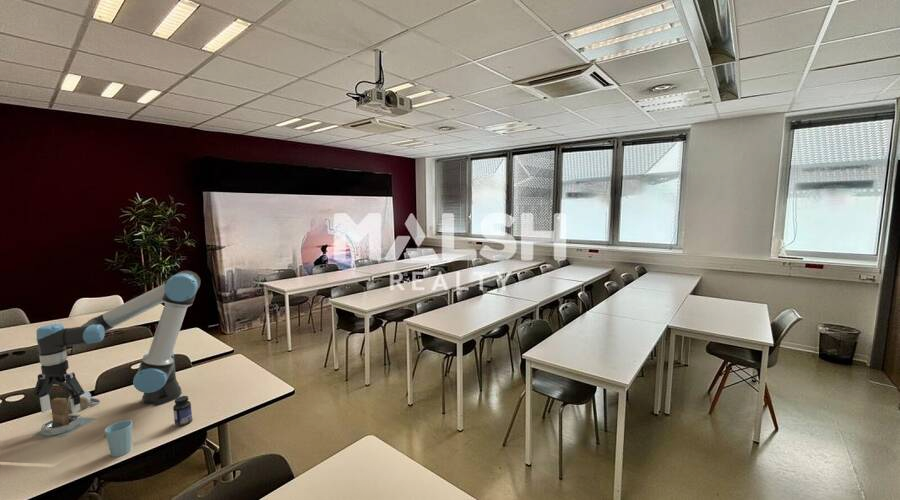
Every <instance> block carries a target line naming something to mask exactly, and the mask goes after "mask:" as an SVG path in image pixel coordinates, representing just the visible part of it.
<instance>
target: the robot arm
mask: <svg viewBox="0 0 900 500" xmlns="http://www.w3.org/2000/svg"><path fill="white" fill-rule="evenodd" d="M201 281H202V280H201V278H200V276H199V275H198V274H197V273H196V272H194V271H191V270H181V271H179V272H177V273H175V274H174V275H172V276H170V277H169V278H168V279H166V280H164V281H163V282H162V284H161V285H158V286H157V287H155V288H153V289H151V290H149V291H146V292H145V293H142V294H140V295H139V296H136V297H134V298H133V299H132V298H131V299H130V300H128V301H126V302H125V303H122V304H120V305H118V306H115V307H114V308H111V309H110V310H108V311H106V312H104V313H102V314H100V315H98V316H95V317H92V318H90V319H88V321H87V322H85V323H83V324H82V325H81V326H75V327H64V325H63V324H62V323H52V324H48V325H43V326H40V327H38V328H37V329H36V331H35V332H36V342H37V348H38V357H39V364H40V371H41V373H39V374H37V381H36V384H35V387H34V390H33V393H32V395H33V397H37V398H38V400H39V404H40V409H41V414H45V413H46V412H48V411H50V410H51V411H52V409H51V401H50V400H51V399H50V394H49V391H50V390H51V388H52V387H53V386H54V385H55V386H59V387H60V388H61V387H62V389H64V391H65V392H66V393H67V394H68V395H69V396H71V398H70V403H71V410H72V412H71V414H75V413H77V412H80V411H82V410H81V408H80V395H82V394H84V393H85V392H84V390H85V389H83V387H82V385H81V383H79V381H78V379H77V377H76V373H75V372H70V373H68V372H67V371H68V369H69V368H70V367H69V360H68V354H67V348H68V347H72V346H73V347H74V346H81V345H91V344H95V343H100V342H102V341H103V340H104V338H105V335H106V332H108V331H109V330H112V329H113V328H116V327H117V326H119V325H121V324H123V323H125V322H127V321H129V320H131V319H133V318H135V317H137V316H139V315H141V314H143V313H145V312H147V311H149V310H151V309H153V308H155V307H157V306H159V305H161V304H163V303H164V305H163V308H162V311H161V313H160V314H161V315H160V318H159V321H158V324H157V327H156V329H155V333H154V336H153V339H152V341H151V344H150V348H149V349H148V353H145V354H144V355H143V357H142V359H141V361H140V363H139V366H138V370H137V372H136V374H135V375H134V376H133V381H132V383H133V388H135V389H136V390H137V391H139V392H141V393H143V395H142V396H141V400H142V401H141V402H142V404H143V405H154V406H156V405H162V404H165V403H167V402H171V401H174V400H175V399H176V398H178V397H181V396H182V393H183V392H182V387H181V386H180V383H179V382H178V380H177V376H176V364H175V354H174V353H175V352H174V349H175V345H176V342H177V339H178V337H179V334H180V330H181V328H182V325H183V322H184V318H185V316H186V313H187V309H188V308H189V307H191V306H192V305H193V304H194V301H195V298H196V294H197V292H198V290H199V289H200V287H201V283H202V282H201Z"/></svg>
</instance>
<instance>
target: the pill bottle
mask: <svg viewBox="0 0 900 500" xmlns="http://www.w3.org/2000/svg"><path fill="white" fill-rule="evenodd" d="M172 409H173V417H174V418H173V419H174V425H175V426H176V427H183V426H186V425H188V424H190V423H191V422H192V421H193V415H192V414H193V413H192V411H193V410H192V403H191V401H190V400H189V396H188V395H180V396H179V397H177V398H175V399H174V405H173V408H172Z"/></svg>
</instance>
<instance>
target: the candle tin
mask: <svg viewBox="0 0 900 500" xmlns="http://www.w3.org/2000/svg"><path fill="white" fill-rule="evenodd" d="M68 416H69V424H67V425H64V426H60V423H53V419H51V420H49V421H47V422H44V423H43V424H42V426H41V427H40V432H41V434H43V435H44V436H53V435H58V434H62V433H65V432H68V431H70V430H72V429H74V428H76V427H78V426H79V425H80V424H81V417H82V414H78V413H77V414H75V413H70V414H68Z"/></svg>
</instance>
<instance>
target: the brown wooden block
mask: <svg viewBox="0 0 900 500" xmlns="http://www.w3.org/2000/svg"><path fill="white" fill-rule="evenodd" d="M67 403H68V398H67V397H55V398H53V399H50V405H51V415H52V420H53V423H60V426H64V425H67V424H69V416H68V415H69V410H68V407H67Z"/></svg>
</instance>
